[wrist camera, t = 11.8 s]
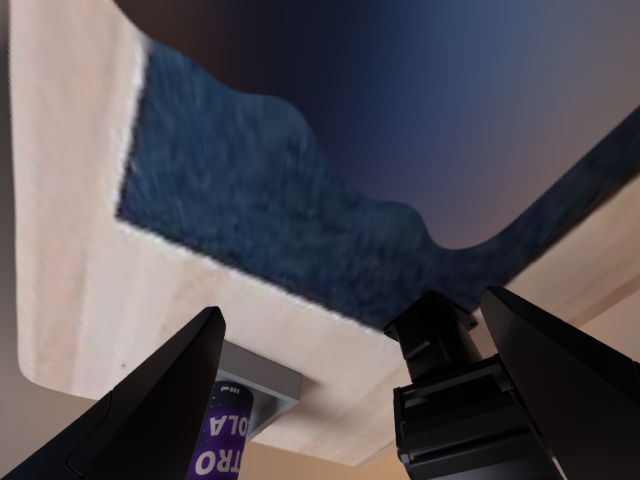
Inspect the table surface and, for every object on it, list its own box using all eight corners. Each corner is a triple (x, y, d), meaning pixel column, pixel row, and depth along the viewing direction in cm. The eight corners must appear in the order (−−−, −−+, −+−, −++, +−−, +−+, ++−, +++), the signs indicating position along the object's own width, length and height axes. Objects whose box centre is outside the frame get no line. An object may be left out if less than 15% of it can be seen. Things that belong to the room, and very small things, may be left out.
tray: (301, 374, 32) (299, 401, 29) (251, 417, 36) (246, 443, 34) (206, 332, 28) (194, 359, 25) (165, 386, 33) (152, 412, 30)
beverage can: (256, 403, 33) (226, 554, 23) (207, 400, 33) (155, 551, 22) (255, 375, 30) (220, 533, 20) (201, 371, 30) (138, 529, 20)
